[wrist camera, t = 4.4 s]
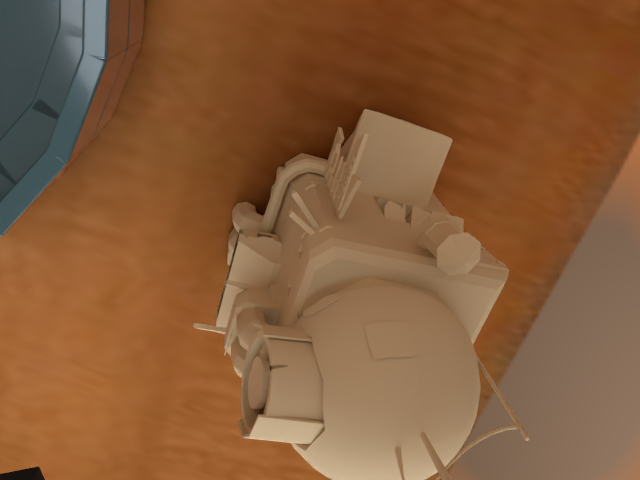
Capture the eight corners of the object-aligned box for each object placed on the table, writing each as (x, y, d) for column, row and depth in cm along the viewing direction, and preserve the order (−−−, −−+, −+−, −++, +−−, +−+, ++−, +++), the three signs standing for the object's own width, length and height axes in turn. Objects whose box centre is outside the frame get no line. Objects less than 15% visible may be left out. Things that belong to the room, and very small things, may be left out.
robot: (250, 64, 20) (262, 233, 7) (457, 126, 22) (802, 359, 8) (187, 314, 24) (112, 751, 10) (369, 349, 26) (508, 760, 12)
